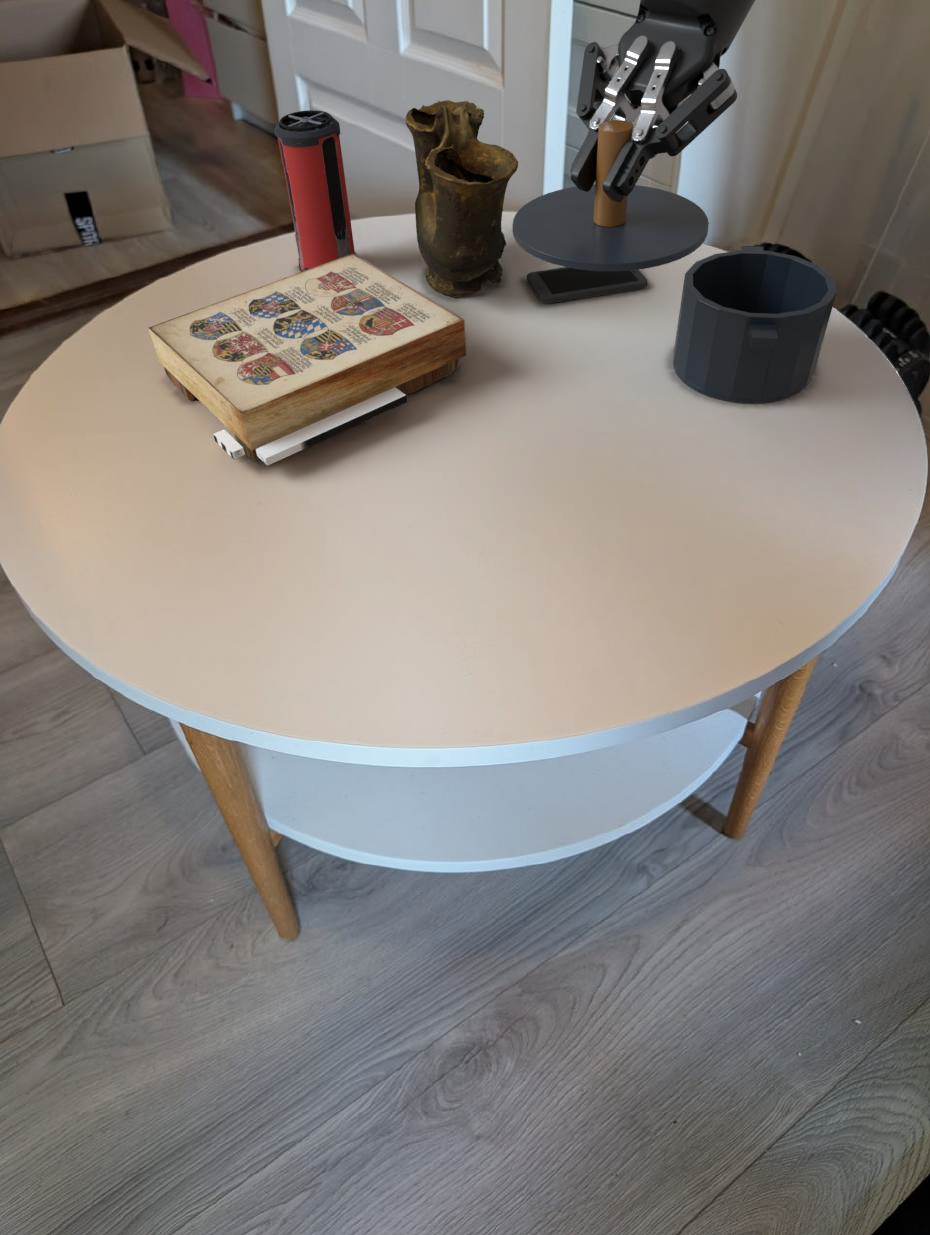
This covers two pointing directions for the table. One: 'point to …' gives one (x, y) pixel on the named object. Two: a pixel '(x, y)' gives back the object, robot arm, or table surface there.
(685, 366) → the pot
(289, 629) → the table surface
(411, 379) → the book
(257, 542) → the table surface
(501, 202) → the pottery vessel
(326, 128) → the speaker
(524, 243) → the lid
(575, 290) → the cell phone
